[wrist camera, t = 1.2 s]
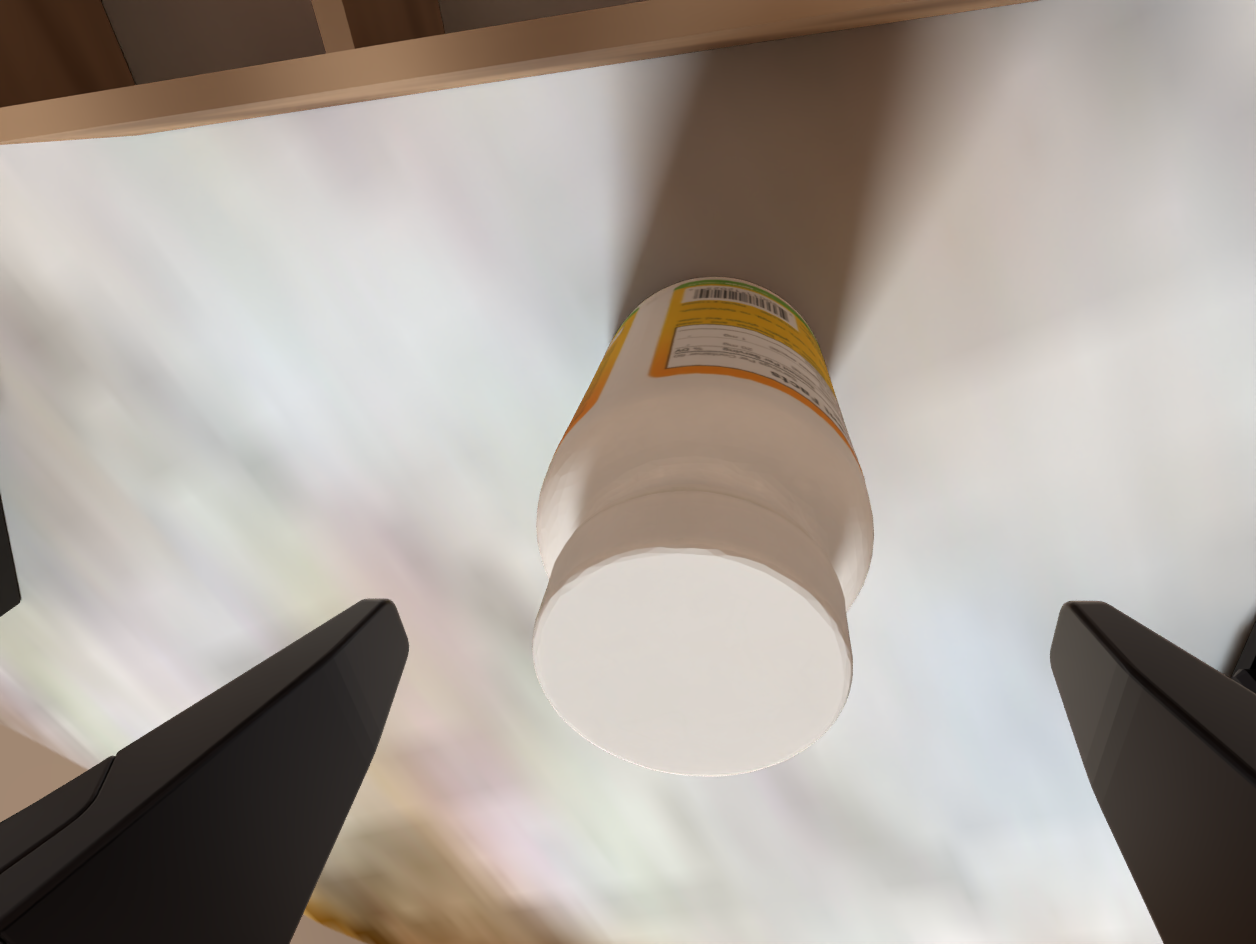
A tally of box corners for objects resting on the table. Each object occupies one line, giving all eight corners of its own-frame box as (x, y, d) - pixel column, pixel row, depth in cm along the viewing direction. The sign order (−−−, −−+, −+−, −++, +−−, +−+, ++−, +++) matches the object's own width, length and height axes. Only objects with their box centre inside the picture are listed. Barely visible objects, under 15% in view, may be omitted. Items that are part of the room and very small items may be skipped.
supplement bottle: (667, 503, 18) (608, 842, 10) (566, 335, 16) (389, 585, 8) (857, 428, 17) (979, 769, 8) (769, 228, 15) (812, 410, 6)
